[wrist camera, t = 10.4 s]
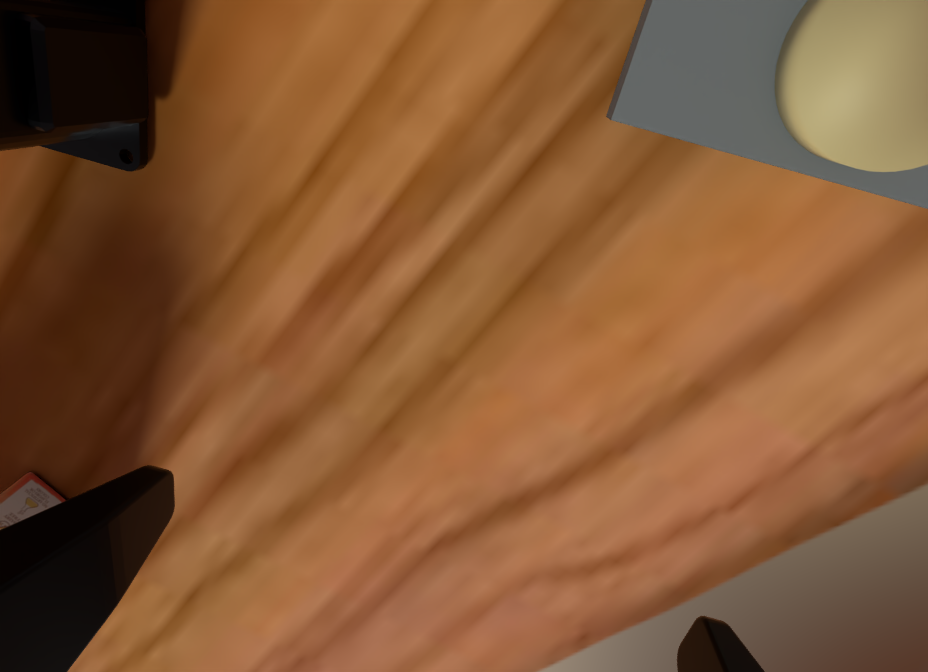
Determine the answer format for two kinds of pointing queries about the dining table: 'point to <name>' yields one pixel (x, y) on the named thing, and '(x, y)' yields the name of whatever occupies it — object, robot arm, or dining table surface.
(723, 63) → the carrier board
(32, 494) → the cracker box
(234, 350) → the dining table surface
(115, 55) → the robot arm
